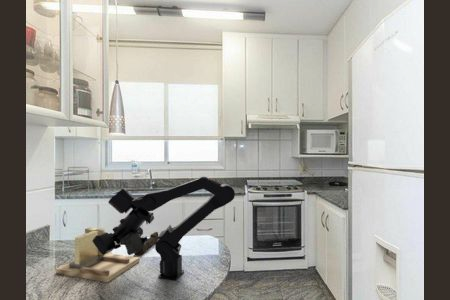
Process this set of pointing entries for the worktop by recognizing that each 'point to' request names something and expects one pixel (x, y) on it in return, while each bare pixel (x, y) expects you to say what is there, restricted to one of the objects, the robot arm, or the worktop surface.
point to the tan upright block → (85, 251)
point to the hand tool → (148, 243)
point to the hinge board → (101, 265)
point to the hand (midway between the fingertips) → (106, 251)
